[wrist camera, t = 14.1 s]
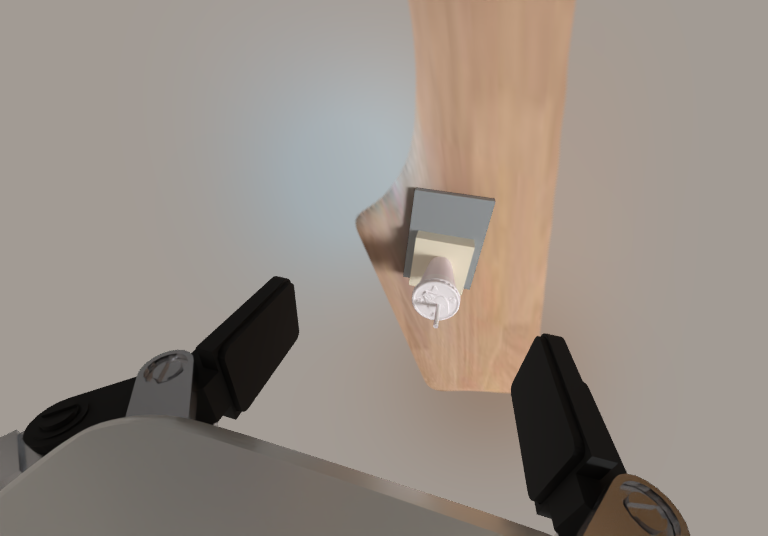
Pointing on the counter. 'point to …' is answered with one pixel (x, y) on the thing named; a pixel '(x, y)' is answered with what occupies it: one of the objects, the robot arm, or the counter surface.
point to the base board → (447, 233)
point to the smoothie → (437, 292)
